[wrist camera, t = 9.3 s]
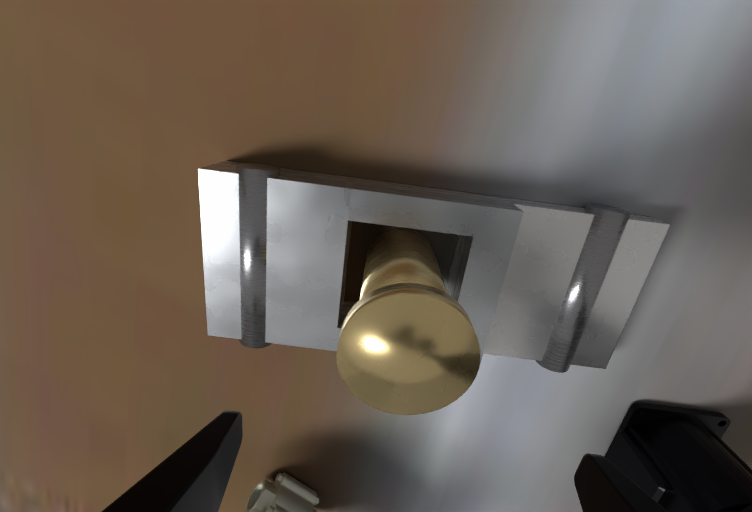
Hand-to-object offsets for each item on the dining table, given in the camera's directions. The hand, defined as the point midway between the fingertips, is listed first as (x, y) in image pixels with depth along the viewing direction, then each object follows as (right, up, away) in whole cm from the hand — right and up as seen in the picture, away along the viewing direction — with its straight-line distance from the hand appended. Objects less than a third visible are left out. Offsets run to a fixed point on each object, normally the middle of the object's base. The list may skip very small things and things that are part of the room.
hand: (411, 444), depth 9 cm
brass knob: (+1, +5, +12) cm, 12 cm away
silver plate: (+2, +4, +12) cm, 12 cm away
